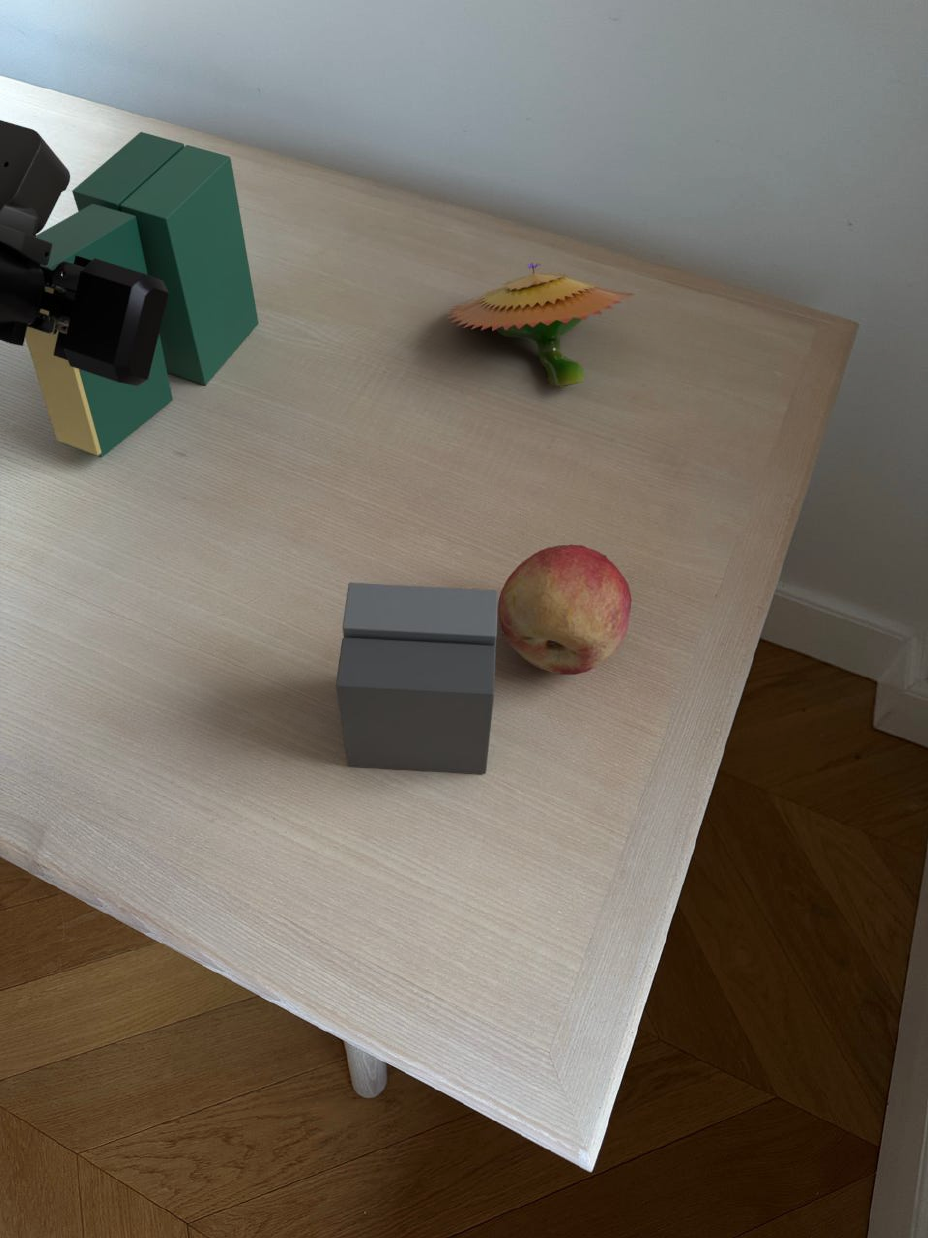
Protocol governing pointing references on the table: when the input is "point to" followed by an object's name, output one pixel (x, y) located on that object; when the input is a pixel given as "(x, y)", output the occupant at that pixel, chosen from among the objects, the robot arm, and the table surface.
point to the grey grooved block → (417, 677)
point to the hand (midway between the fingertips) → (98, 313)
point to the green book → (76, 398)
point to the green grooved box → (184, 245)
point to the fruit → (565, 609)
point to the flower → (540, 315)
